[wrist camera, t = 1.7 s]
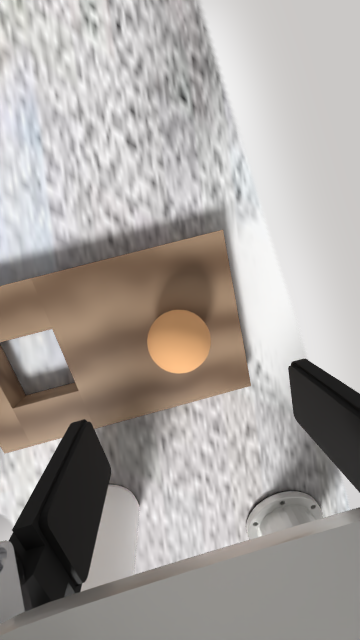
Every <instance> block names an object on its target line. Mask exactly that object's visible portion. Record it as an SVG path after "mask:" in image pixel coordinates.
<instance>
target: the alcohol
mask: <svg viewBox="0 0 360 640" xmlns="http://www.w3.org/2000/svg"><path fill="white" fill-rule="evenodd" d="M139 511H140V509H139V504H138V502H137V500H136V498H135V496H134V495H133V493H132V492H131V491H130V490H128V489H127V488H125V487H122V486H119V485H108V489H107V494H106V498H105V502H104V507H103V511H102V516H101V520H100V525H99V529H98V534H97V538H96V543H95V547H94V552H93V556H92V560H91V565H90V569H89V574H88V577H87V580H86V581H85V583H82V587H81V591H80V592H82V591H85V590H88V589H91V588H94V587H97V586H100V585H103V584H106V583H109V582H113V581H116V580H119V579H122V578H126V577H129V576H132V575H134V572H135V560H136V547H137V535H138V523H139Z"/></svg>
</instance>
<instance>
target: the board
mask: <svg viewBox="0 0 360 640" xmlns="http://www.w3.org/2000/svg"><path fill="white" fill-rule="evenodd" d="M172 310H187V311H190V312H192V313H194V314H196V315H197V316H199V317H200V318H201V319H202V320H203V321H204V322H205V324H206V325H207V327H208V330H209V332H210V337H211V346H210V351H209V354H208V356H207V358H206V359H205V361H204V362H203V363H202V364H201V365H200V366H199V367H198V368H196V369H195V370H193V371H190V372H187V373H180V374H179V373H171V372H168V371H166V370H164V369H162V368H160V367H159V366H158V365H157V364H156V363H155V362H154V361H153V359H152V357H151V356H150V353H149V351H148V345H147V337H148V333H149V330H150V328H151V326H152V324H153V323H154V321H155V320H156V319H157V318H158V317H159V316H161V315H162V314H164V313H166V312H168V311H172ZM49 329H53V332H54V334H55V336H56V339H57V341H58V343H59V346H60V348H61V350H62V353H63V355H64V357H65V360H66V362H67V364H68V367H69V369H70V372H71V374H72V376H73V379H74V381H75V383H71V384H67V385H64V386H60V387H56V388H52V389H49V390H45V391H41V392H37V393H34V394H30V395H25V393H24V391H23V389H22V387H21V385H20V383H19V381H18V379H17V377H16V375H15V373H14V371H13V369H12V367H11V365H10V363H9V361H8V359H7V357H6V355H5V353H4V351H3V349H2V347H1V345H0V446H1V448H2V450H3V452H4V453H8V452H12V451H16V450H19V449H23V448H27V447H30V446H34V445H37V444H41V443H45V442H48V441H52V440H56V439H59V438H63V436H64V434H65V433H66V431H67V429H68V427H69V425H70V424H71V423H73V422H76V421H80V420H83V419H85V420H87V422H91V423H92V425H93V428H94V429H96V428H99V427H103V426H106V425H110V424H114V423H117V422H121V421H125V420H128V419H132V418H136V417H139V416H143V415H146V414H150V413H154V412H157V411H161V410H165V409H168V408H172V407H175V406H179V405H183V404H186V403H190V402H194V401H197V400H201V399H205V398H208V397H212V396H215V395H219V394H223V393H226V392H230V391H234V390H237V389H241V388H244V387H248V386H251V383H250V377H249V372H248V366H247V361H246V355H245V350H244V344H243V338H242V333H241V327H240V322H239V316H238V311H237V305H236V299H235V294H234V288H233V283H232V277H231V271H230V266H229V260H228V255H227V249H226V244H225V238H224V232H223V230H220V231H216V232H212V233H208V234H204V235H200V236H196V237H192V238H188V239H184V240H180V241H176V242H172V243H168V244H164V245H160V246H156V247H152V248H148V249H144V250H141V251H137V252H133V253H129V254H125V255H121V256H117V257H113V258H109V259H105V260H101V261H97V262H93V263H89V264H85V265H81V266H77V267H73V268H69V269H65V270H61V271H57V272H54V273H50V274H46V275H42V276H38V277H34V278H30V279H26V280H22V281H18V282H14V283H10V284H6V285H2V286H0V342H3V341H7V340H11V339H15V338H19V337H22V336H26V335H30V334H34V333H38V332H42V331H45V330H49Z"/></svg>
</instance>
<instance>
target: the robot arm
mask: <svg viewBox="0 0 360 640" xmlns="http://www.w3.org/2000/svg"><path fill="white" fill-rule="evenodd" d="M288 370H289V378H290V387H291V395H292V404H293V413H294V416H295V419H296V420H297V422H298V423H299V424H300V425H301V426H302V428H303V429H304V430H305V431H306V432H307V433H308V434H309V435H310V437H311V438H312V439H313V440H314V441H315V442H316V443H317V445H318V446H319V447H320V448H321V449H322V450H323V451H324V453H325V454H326V455H327V456H328V457H329V458H330V459H331V460H332V462H333V463H334V464H335V465H336V466H337V467H338V468H339V470H340V471H341V472H342V473H343V474H344V475H345V476H346V477H347V479H348V480H349V481H350V482H351V483H352V484H353V485H354V486H355V488H356V489H357V490H358V491H359V492H360V394H359V393H358V392H356V391H354V390H353V389H351V388H350V387H348V386H347V385H345V384H344V383H342V382H341V381H339V380H338V379H336V378H335V377H333V376H331V375H330V374H328V373H327V372H325V371H323V370H322V369H321V368H319V367H317V366H316V365H314V364H313V363H311V362H310V361H308V360H307V359H301V360H297V361H294V362H292V363H291V366H289V368H288ZM110 476H111V468H110V464H109V462H108V460H107V458H106V455H105V453H104V451H103V448H102V446H101V444H100V442H99V439H98V437H97V435H96V432H95V430H94V428H93V425H92V423H91V422H87V420H85V419H83V420H80V421H76V422H73V423H71V424H70V425H69V427H68V429H67V431H66V433H65V434H64V436H63V438H62V440H61V442H60V443H59V445H58V447H57V449H56V451H55V453H54V454H53V456H52V458H51V460H50V462H49V464H48V465H47V467H46V469H45V471H44V473H43V474H42V476H41V478H40V480H39V482H38V484H37V485H36V487H35V489H34V491H33V493H32V495H31V496H30V498H29V500H28V502H27V504H26V506H25V507H24V509H23V511H22V513H21V515H20V516H19V518H18V520H17V522H16V524H15V526H14V527H13V529H12V531H13V534H12V536H11V537H10V540H9V541H1V542H0V640H360V508H356V509H352V510H349V511H345V512H342V513H338V514H335V515H332V516H328V517H325V518H323V513H322V510H321V508H320V506H319V505H318V503H317V502H316V501H315V499H314V498H312V497H311V496H310V495H308V494H305V493H302V492H298V491H287V492H281V493H277V494H274V495H272V496H270V497H268V498H266V499H264V500H263V501H262V502H260V503H259V504H258V505H257V506H256V507H255V508H254V509H253V510H252V512H251V513H250V515H249V517H248V520H247V524H246V531H247V535H248V538H249V540H247V541H244V542H240V543H237V544H234V545H230V546H227V547H224V548H220V549H217V550H214V551H211V552H207V553H204V554H201V555H197V556H194V557H191V558H187V559H184V560H181V561H178V562H174V563H171V564H168V565H165V566H161V567H158V568H155V569H152V570H148V571H145V572H142V573H139V574H135V575H132V576H129V577H126V578H122V579H119V580H116V581H113V582H109V583H106V584H103V585H100V586H97V587H94V588H91V589H88V590H85V591H82V592H80V591H81V587H82V583H85V581H86V580H87V577H88V574H89V569H90V565H91V560H92V556H93V552H94V547H95V543H96V538H97V534H98V529H99V525H100V520H101V516H102V511H103V507H104V502H105V498H106V494H107V489H108V485H109V480H110Z"/></svg>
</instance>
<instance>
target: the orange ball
mask: <svg viewBox="0 0 360 640" xmlns="http://www.w3.org/2000/svg"><path fill="white" fill-rule="evenodd" d="M147 345H148V351H149V353H150V356H151V357H152V359H153V361H154V362H155V363H156V364H157V365H158V366H159V367H160V368H162V369H164V370H166V371H168V372H171V373H179V374H180V373H187V372H190V371H193V370H195V369H196V368H198V367H199V366H200V365H201V364H202V363H203V362H204V361H205V359H206V358H207V356H208V354H209V351H210V346H211V337H210V332H209V330H208V327H207V325H206V324H205V322H204V321H203V320H202V319H201V318H200V317H199V316H197V315H196V314H194V313H192V312H190V311H187V310H172V311H168V312H166V313H164V314H162V315H161V316H159V317H158V318H157V319H156V320H155V321H154V323H153V324H152V326H151V328H150V330H149V333H148V337H147Z"/></svg>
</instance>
